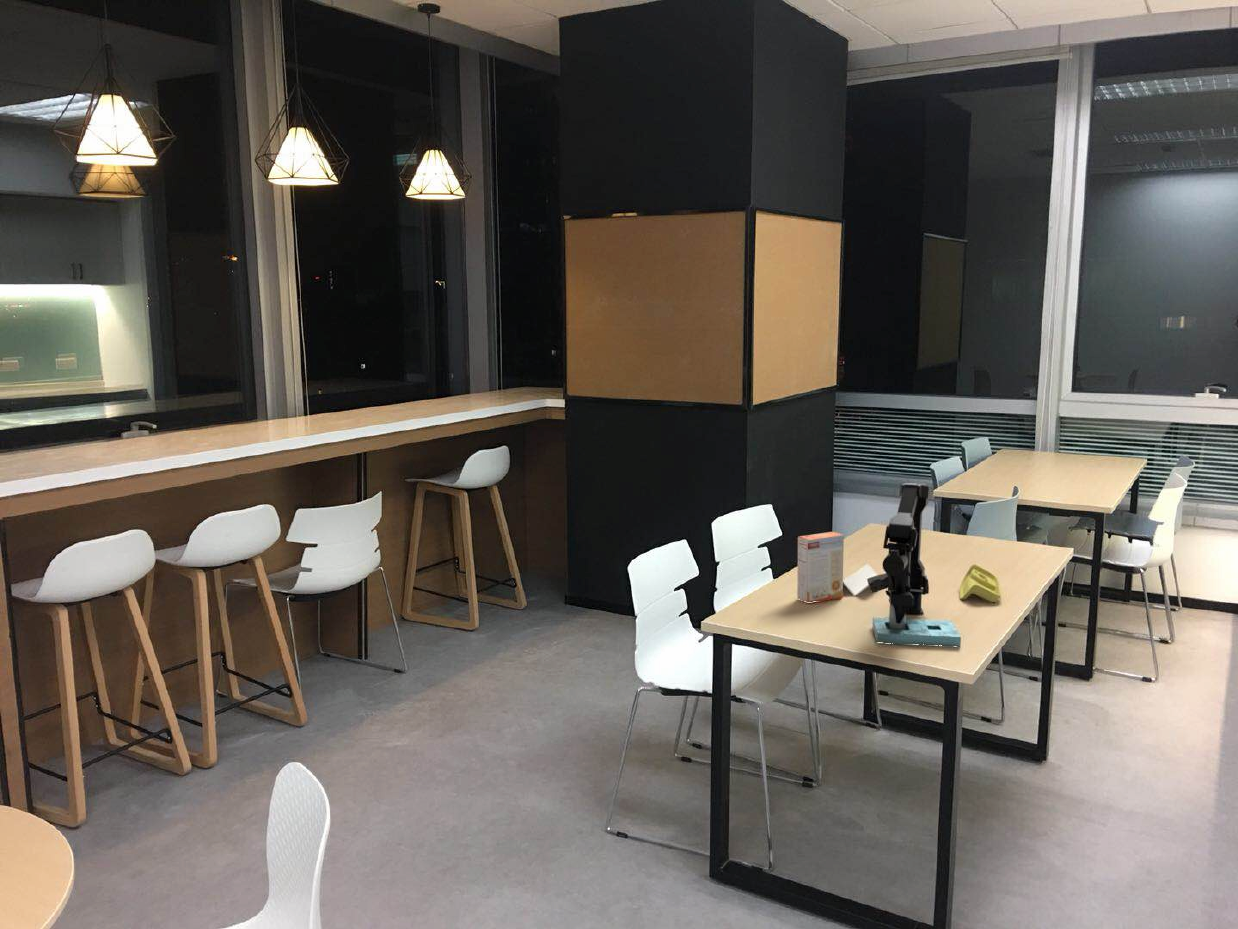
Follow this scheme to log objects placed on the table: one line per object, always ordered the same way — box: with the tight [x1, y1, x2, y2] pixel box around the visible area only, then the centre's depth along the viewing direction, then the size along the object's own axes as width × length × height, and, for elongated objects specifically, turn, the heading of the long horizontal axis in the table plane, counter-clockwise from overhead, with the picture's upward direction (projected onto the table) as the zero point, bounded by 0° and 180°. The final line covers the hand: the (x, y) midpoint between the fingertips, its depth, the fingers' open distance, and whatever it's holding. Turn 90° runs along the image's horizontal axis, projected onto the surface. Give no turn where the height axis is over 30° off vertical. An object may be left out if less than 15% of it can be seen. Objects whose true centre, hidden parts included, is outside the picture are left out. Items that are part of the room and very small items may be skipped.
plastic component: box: [958, 564, 1002, 603], centre depth 313 cm, size 20×7×10 cm
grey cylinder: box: [888, 603, 907, 630], centre depth 273 cm, size 4×4×8 cm
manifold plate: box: [872, 616, 962, 648], centre depth 273 cm, size 14×22×3 cm, turn 81°
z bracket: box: [843, 563, 886, 596], centre depth 323 cm, size 12×25×6 cm
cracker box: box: [796, 531, 845, 602], centre depth 307 cm, size 14×6×21 cm, turn 115°
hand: (897, 620), depth 273 cm, fingers closed on grey cylinder, 4 cm apart
